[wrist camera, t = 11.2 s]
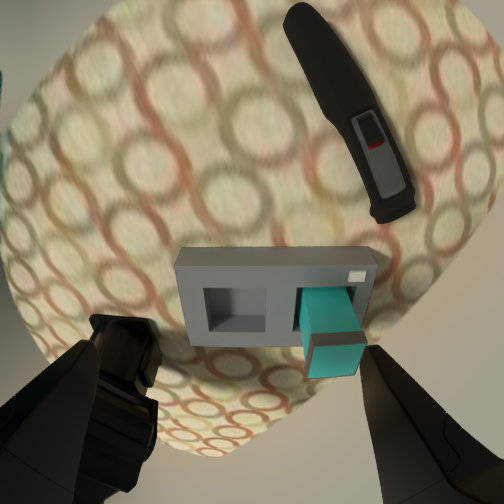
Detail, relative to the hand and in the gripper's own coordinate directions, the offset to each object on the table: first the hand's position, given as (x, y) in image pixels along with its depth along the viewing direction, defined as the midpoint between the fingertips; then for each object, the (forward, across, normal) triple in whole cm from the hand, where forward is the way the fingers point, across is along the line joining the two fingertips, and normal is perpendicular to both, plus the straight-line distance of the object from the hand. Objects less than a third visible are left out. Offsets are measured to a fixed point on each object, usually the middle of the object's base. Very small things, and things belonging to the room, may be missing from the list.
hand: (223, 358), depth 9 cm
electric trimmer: (+14, -7, -6) cm, 16 cm away
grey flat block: (+13, -2, +8) cm, 15 cm away
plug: (+12, -6, +7) cm, 16 cm away
